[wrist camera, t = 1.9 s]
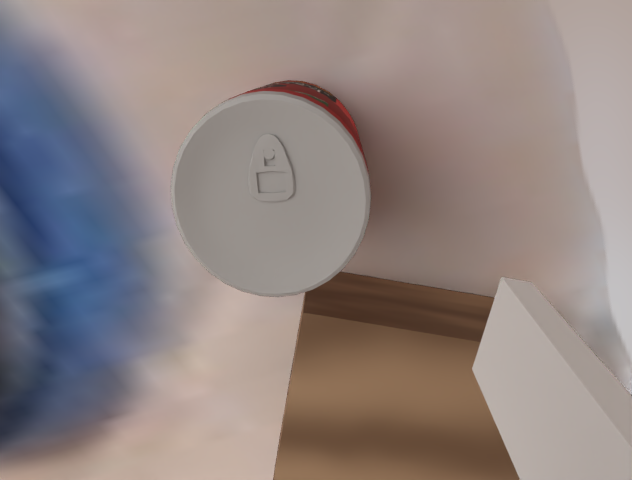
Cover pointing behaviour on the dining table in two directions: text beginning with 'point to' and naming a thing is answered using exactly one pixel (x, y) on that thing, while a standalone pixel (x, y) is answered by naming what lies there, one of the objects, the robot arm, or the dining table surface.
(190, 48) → the dining table surface
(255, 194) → the canned food
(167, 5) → the dining table surface
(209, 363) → the dining table surface
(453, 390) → the walnut pedestal
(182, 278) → the dining table surface
